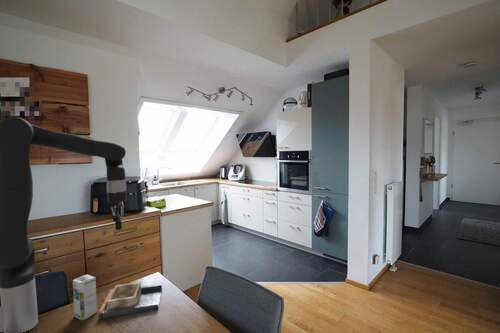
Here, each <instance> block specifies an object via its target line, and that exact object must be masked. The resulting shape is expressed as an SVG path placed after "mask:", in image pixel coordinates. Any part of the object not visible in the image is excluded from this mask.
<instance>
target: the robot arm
mask: <svg viewBox="0 0 500 333" xmlns="http://www.w3.org/2000/svg"><path fill="white" fill-rule="evenodd" d="M31 145H35V146H43V147H48V148H54V149H57V150H62V151H66V152H70V153H74V154H78V155H84V156H89V157H99V158H101V159H104V162H105V167H106V199H107V200H106V201H107V203H111V204H112V206H111V211H110V217H111V219H112V222H113V223H115V231H120V230H122V229H123V224H122V223H123V222H122V221H123V218H124V212H125V204H123V202H126V201H127V200H128V194H127V193H128V192H127V181H126V171H125V170H126V169H125V168H124V166H123V159H124V158H125V157H126V152H127V151H126V150H125V147H124V146H123V145H121V144H119V143H114V142H108V141H102V140H99V139H95V138H91V137H86V136H82V135H78V134H72V133H68V132H67V133H65V132H59V131H54V130H50V129H46V128H43V127H39V126H37V125H34V124H31V123H30V122H28V121H27V120H26V119H24V118H22V117H19V116H8V117H4V118H3V119H1V120H0V332H4V333H23V332H25V333H27V332H29V331H31V330H32V329H33V328H35V327H36V326H37V325H38V323H39V311H38V302H37V301H38V300H37V288H36V287H37V286H36V275H35V274H36V271H35V270H36V254H35V252H36V251H35V244H34V241H33V239H32V238H31V237H29V236H28V223H29V218H30V213H31V211H32V205H33V197H34V196H33V195H34V194H33V193H34V192H33V191H34V184H33V175H32V169H31V162H30V150H31ZM28 330H29V331H28ZM26 331H27V332H26Z"/></svg>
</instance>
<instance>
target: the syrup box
mask: <svg viewBox="0 0 500 333" xmlns="http://www.w3.org/2000/svg"><path fill="white" fill-rule="evenodd" d="M96 281H97V280H96V276H92V275H90V274H84V275H82V276H81V275H80V276H79V277H77V278H74V279H73V280H72V289H73V292H72V293H73V310H74V312H73V313H74V317H75V318H77V319H78V320H80V321H85V320H87V319H88V318H90V317H91V316H93V315H95V314H96V313H97V312H98V305H97V304H98V302H97V284H96V283H97V282H96Z"/></svg>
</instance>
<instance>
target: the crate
mask: <svg viewBox="0 0 500 333" xmlns="http://www.w3.org/2000/svg"><path fill="white" fill-rule="evenodd" d="M141 287H142V284H141V281H140V282H139V281H138V282H133V283H132V282H131V283H125V284H118V285H115V286H114V288H113V289H114V290H113V292H112V294H111V295H110V297H109V299H108V301H107V305H108V310H112V309H119V308H126V307H132V306H137V304H138V301H139V298H140V295H141Z"/></svg>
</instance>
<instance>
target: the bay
mask: <svg viewBox="0 0 500 333" xmlns="http://www.w3.org/2000/svg"><path fill="white" fill-rule="evenodd" d="M113 290H114V288H111V289H110V290H109V292H108V294H107V296H106V298H105V299H104V300H103V303H102V305H101V306H100V308H99V310H98V318H99V319H98V320H104V319H110V318H111V319H112V318H118V317H122V316H128V315H137V314H141V313H142V314H143V313H149V312H155V311H159V307H160V304H161V303H160V302H161V296H162V290H163V284H162V283H159V284H152V285H151V284H150V285H144V286H141V295H140V298H139V301H138V304H137V306H132V307H126V308H119V309H112V310H108V305H107V301H108V299H109V297H110V295H111V294H112V292H113Z"/></svg>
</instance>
